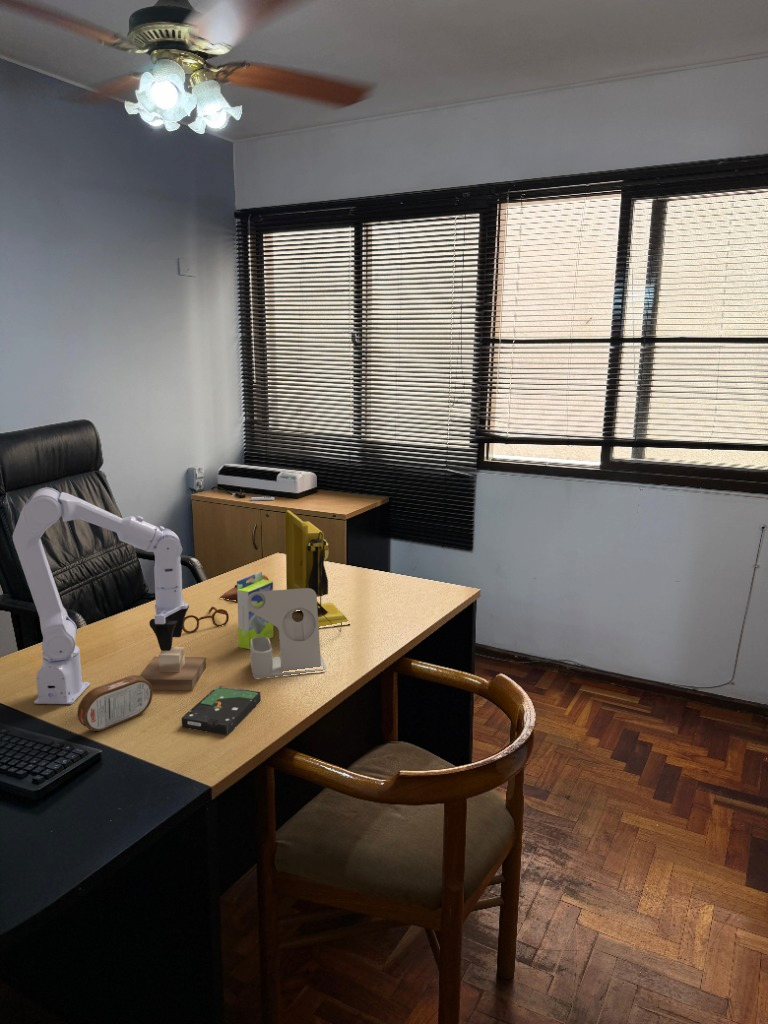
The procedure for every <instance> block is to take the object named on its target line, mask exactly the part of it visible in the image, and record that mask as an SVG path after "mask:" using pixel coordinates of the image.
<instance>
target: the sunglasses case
mask: <svg viewBox="0 0 768 1024" xmlns="http://www.w3.org/2000/svg"><path fill="white" fill-rule="evenodd" d="M262 579H264V580H269V578H268V576H266V575H265V574H262ZM251 581H253V578H252V579H251V578H250V579H249V580H247V581H246V583H248V582H251ZM269 581H270V580H269ZM219 598H225V599H229V600H236V601H238V596H237V584H235V585H234V587H232V588H230V589H229V590H227V591H226V592H224V593H223V594H222V595H220V597H219ZM229 600H228V601H229Z"/></svg>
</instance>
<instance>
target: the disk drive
mask: <svg viewBox="0 0 768 1024" xmlns="http://www.w3.org/2000/svg"><path fill="white" fill-rule="evenodd" d="M261 698H262V696H261V691H255V690H249V689H243V688H237V689H236V688H231V687H230V688H228V687H223V686H222V685H221V686H218V687H215V688H214V689H212V690H211V691H210V692H209V693H208V694H207V695H205V696H204V697H203V698H202V699H201V700H200V701H199V702H197V703H196V704H195V705H194V706H193V707H191V709H190V710H189V711H187V712H186V713H185V714H184V715H183V716H182V717H181V728H182V727H185V729H188V728H191V729H190V730H194V729H196V730H195V731H199V730H201V732H205V731H207V732H206V733H211V734H212V733H213V734H217V735H224V736H229V735H230V734H231V733H233V731H234V730H235V727H236V728H237V727H238V725H239V724H241V722H242V721H244V719H245V718H246V717H247V716H248V715H249V714H250V713H251V712H253V710H254V709H255V708H256V707H257V706H258V705H259V704H260V703H261V702H262V701H261ZM260 701H261V702H260ZM259 702H260V703H259ZM258 703H259V704H258ZM257 704H258V705H257ZM256 705H257V706H256Z"/></svg>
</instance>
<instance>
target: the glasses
mask: <svg viewBox="0 0 768 1024" xmlns="http://www.w3.org/2000/svg"><path fill="white" fill-rule="evenodd" d="M213 610H214V612H212V611H213ZM208 611H209V612H208V613H211V615H204V616H200V617H199V618H198V617H197V616H195V615H193V614H192V615H191V614H189V615H185V618H184V622H183V628H182V632H185V633H186V634H193V633H196V632H197V631H198V630H199V627H200V621H202V620H206V619H211V621H212V624H213V625H214V626H215V627H217V628H218V626H221V627H223V626H222V625H224V626H226V625H227V624H228V623H229V620H230V619H229V617H230V615H229V613H228V611H227V610H225V609H222V608H219V609H218V608H216V607H215V606H211V607H210V609H209V610H208ZM216 614H221V615H225V621H224V622H223V623H222V624H218V623H216V620H215V615H216ZM191 618H192V619H195V621H196V626H195V628H194V629H192V630H187V629H186V628H185V622H186V620H187V619H191Z"/></svg>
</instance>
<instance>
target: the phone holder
mask: <svg viewBox="0 0 768 1024" xmlns="http://www.w3.org/2000/svg"><path fill="white" fill-rule="evenodd" d="M255 595H260V596H261V597H262V598H263V603H262V605H261V606H259V607H254V606H253V605H252V603H251V599H252V597H253V596H255ZM317 601H318V597H317V595H316V593H315V591H314V590H313V589H310V588H302V589H287V588H286V589H276V590H274V589H273V591H260V592H253V593H251V594H250V595H249V597H248V599H247V607H248V609H249V611H251V612H252V613H254V614H256V615H257V616H259V617H261V618H262V619H264V620H266V621H267V622H269V623H271V624H272V625H273V627H276V628H277V629H278V636H279V637H278V638H279V639H278V640H279V653H280V654H279V655H280V656H273V647H272V644H271V643H272V642H271V641H270V639H269V638H267V637H255V638H253V639H251V641H250V649H249V650H250V667H251V674H252V673H253V674H252V678H253V677H254V678H253V679H255V678H266V679H268V678H267V677H275V676H283V675H291V674H300V673H306V672H315V671H323V670H325V669H326V668H327V665H326V663H325V661H324V659H323V655H322V654H321V644H320V643H321V642H320V631H319V630H320V629H319V625H318V610H317ZM296 610H300V611H302V612H301V613H302V615H303V614H304V618H303V617H302V620H301V621H295V620H294V619H293V613H295V612H294V611H296ZM320 666H323V669H315V670H305V671H295V672H284V673H282V672H283V671H289V670H297V669H305V668H313V667H320ZM327 669H328V668H327Z"/></svg>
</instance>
